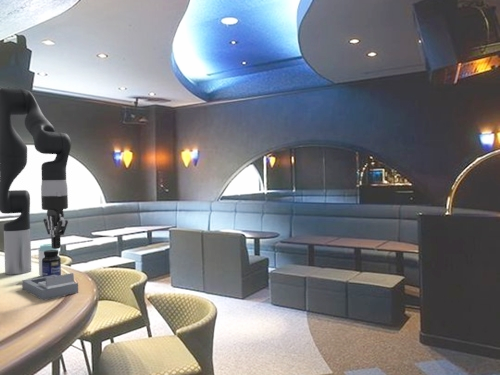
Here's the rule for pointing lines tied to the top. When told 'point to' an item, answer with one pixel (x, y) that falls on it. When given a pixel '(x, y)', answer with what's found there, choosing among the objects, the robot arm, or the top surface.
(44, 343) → the top surface
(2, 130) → the robot arm
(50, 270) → the pill bottle
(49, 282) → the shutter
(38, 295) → the socket plate
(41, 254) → the can
